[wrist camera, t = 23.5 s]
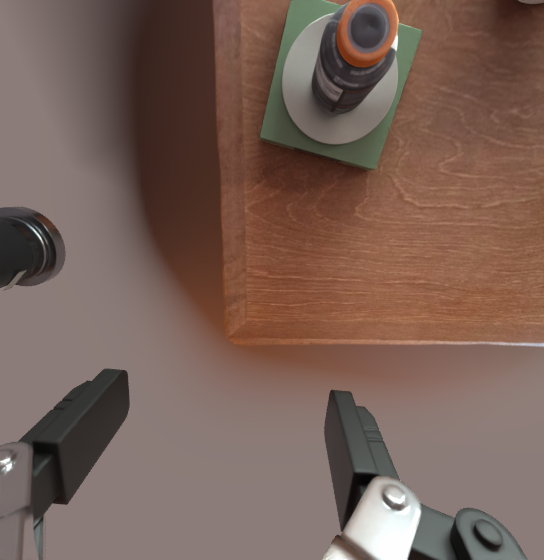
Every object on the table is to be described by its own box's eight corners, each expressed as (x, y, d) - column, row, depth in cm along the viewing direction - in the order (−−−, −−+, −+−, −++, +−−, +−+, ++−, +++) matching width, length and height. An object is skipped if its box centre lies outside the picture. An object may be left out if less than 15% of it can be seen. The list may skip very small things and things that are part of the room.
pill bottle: (373, 53, 30) (425, -24, 19) (362, 118, 32) (404, 80, 21) (315, 46, 30) (333, -34, 19) (307, 112, 32) (320, 71, 21)
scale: (260, 141, 37) (258, 135, 33) (291, 5, 32) (293, -20, 29) (369, 172, 37) (379, 170, 33) (413, 41, 33) (430, 22, 29)
